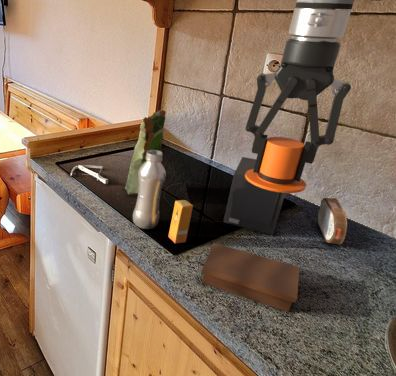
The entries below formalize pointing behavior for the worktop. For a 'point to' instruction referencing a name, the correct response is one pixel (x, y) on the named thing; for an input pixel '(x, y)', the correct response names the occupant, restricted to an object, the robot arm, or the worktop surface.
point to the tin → (332, 221)
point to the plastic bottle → (149, 191)
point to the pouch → (145, 147)
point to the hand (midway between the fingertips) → (276, 174)
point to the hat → (279, 166)
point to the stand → (252, 276)
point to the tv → (252, 202)
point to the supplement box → (180, 221)
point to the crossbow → (91, 172)
